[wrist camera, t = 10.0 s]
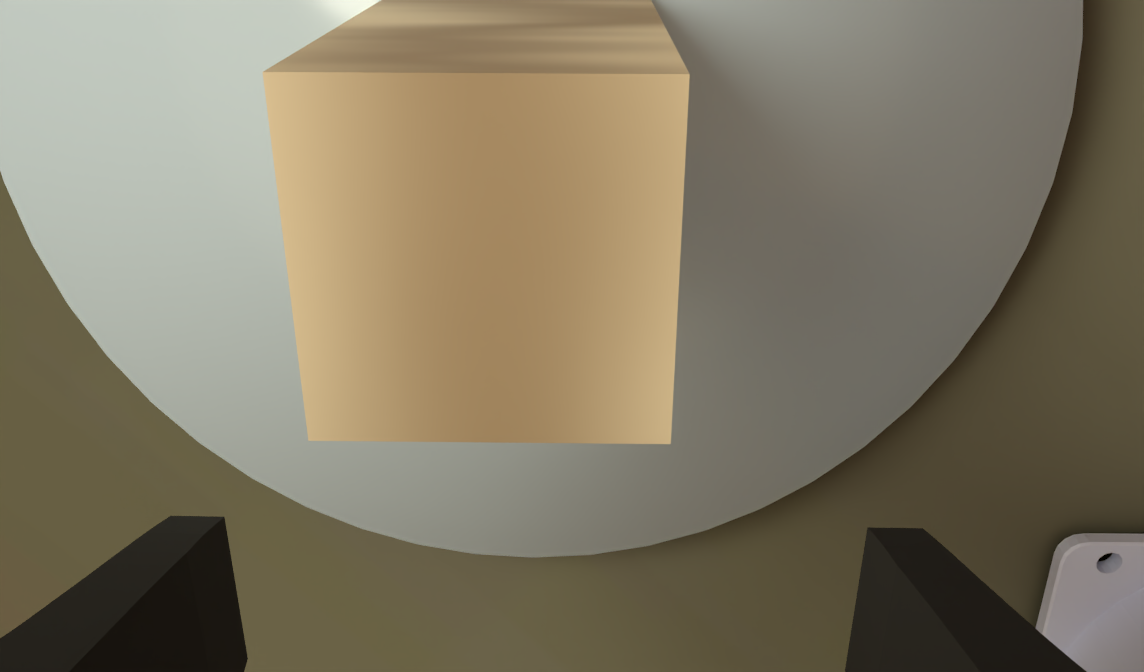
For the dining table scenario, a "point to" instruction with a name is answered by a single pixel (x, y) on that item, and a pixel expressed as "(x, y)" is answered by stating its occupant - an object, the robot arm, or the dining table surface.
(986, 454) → the dining table surface
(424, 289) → the block
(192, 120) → the dish
